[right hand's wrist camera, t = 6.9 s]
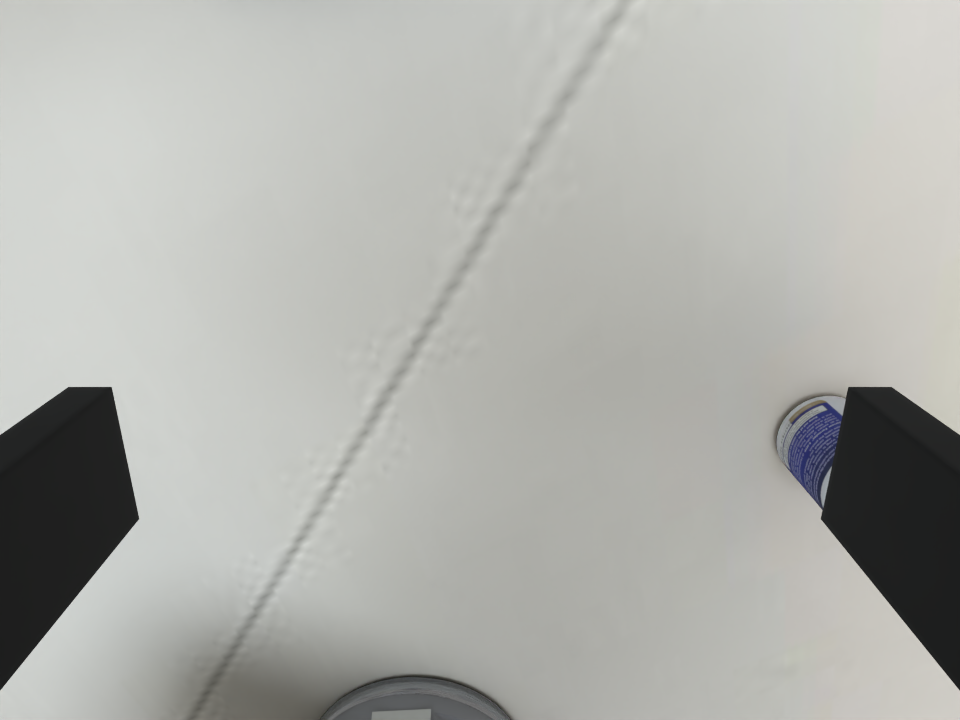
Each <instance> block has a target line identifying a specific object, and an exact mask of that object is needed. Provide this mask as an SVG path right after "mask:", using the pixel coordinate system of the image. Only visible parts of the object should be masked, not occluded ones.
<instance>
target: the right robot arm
mask: <svg viewBox="0 0 960 720" xmlns="http://www.w3.org/2000/svg"><path fill="white" fill-rule="evenodd" d="M138 520H139V516H138V511H137V506H136V502H135V497H134V492H133V487H132V483H131V478H130V473H129V468H128V463H127V459H126V454H125V449H124V444H123V440H122V435H121V430H120V425H119V420H118V416H117V411H116V406H115V401H114V396H113V392H112V387H68V388H67V389H65V390H64V391H62V392H61V393H60V394H58V395H57V396H55V397H54V398H52V399H51V400H50V401H48V402H47V403H45V404H44V405H42V406H41V407H40V408H38V409H37V410H35V411H34V412H32V413H31V414H30V415H28V416H27V417H25V418H24V419H23V420H21V421H20V422H18V423H17V424H15V425H14V426H13V427H11V428H10V429H8V430H7V431H5V432H4V433H3V434H1V435H0V690H1V689H2V688H3V686H4V685H5V684H6V683H7V681H8V680H9V679H10V678H11V676H12V675H13V674H14V673H15V671H16V670H17V669H18V668H19V667H20V665H21V664H22V663H23V662H24V660H25V659H26V658H27V657H28V655H29V654H30V653H31V652H32V650H33V649H34V648H35V647H36V646H37V644H38V643H39V642H40V641H41V639H42V638H43V637H44V636H45V634H46V633H47V632H48V631H49V629H50V628H51V627H52V626H53V625H54V623H55V622H56V621H57V620H58V618H59V617H60V616H61V615H62V613H63V612H64V611H65V610H66V608H67V607H68V606H69V605H70V604H71V602H72V601H73V600H74V599H75V597H76V596H77V595H78V594H79V592H80V591H81V590H82V589H83V588H84V586H85V585H86V584H87V583H88V581H89V580H90V579H91V578H92V576H93V575H94V574H95V573H96V571H97V570H98V569H99V568H100V567H101V565H102V564H103V563H104V562H105V560H106V559H107V558H108V557H109V555H110V554H111V553H112V552H113V550H114V549H115V548H116V547H117V546H118V544H119V543H120V542H121V541H122V539H123V538H124V537H125V536H126V534H127V533H128V532H129V531H130V529H131V528H132V527H133V526H134V525H135V523H136V522H137V521H138ZM821 520H822V521H823V522H824V523H825V525H826V526H827V527H828V528H829V529H830V531H831V532H832V533H833V534H834V536H835V537H836V538H837V539H838V541H839V542H840V543H841V544H842V546H843V547H844V548H845V549H846V550H847V552H848V553H849V554H850V555H851V557H852V558H853V559H854V560H855V562H856V563H857V564H858V565H859V567H860V568H861V569H862V570H863V571H864V573H865V574H866V575H867V576H868V578H869V579H870V580H871V581H872V583H873V584H874V585H875V586H876V588H877V589H878V590H879V591H880V592H881V594H882V595H883V596H884V597H885V599H886V600H887V601H888V602H889V604H890V605H891V606H892V607H893V608H894V610H895V611H896V612H897V613H898V615H899V616H900V617H901V618H902V620H903V621H904V622H905V623H906V625H907V626H908V627H909V628H910V629H911V631H912V632H913V633H914V634H915V636H916V637H917V638H918V639H919V641H920V642H921V643H922V644H923V646H924V647H925V648H926V649H927V650H928V652H929V653H930V654H931V655H932V657H933V658H934V659H935V660H936V662H937V663H938V664H939V665H940V667H941V668H942V669H943V670H944V671H945V673H946V674H947V675H948V676H949V678H950V679H951V680H952V681H953V683H954V684H955V685H956V686H957V688H958V689H959V690H960V435H959V434H957V433H956V432H955V431H953V430H952V429H950V428H949V427H947V426H946V425H945V424H943V423H942V422H940V421H939V420H937V419H936V418H935V417H933V416H932V415H930V414H929V413H928V412H926V411H925V410H923V409H922V408H920V407H919V406H918V405H916V404H915V403H913V402H912V401H910V400H909V399H908V398H906V397H905V396H903V395H902V394H900V393H899V392H898V391H896V390H895V389H893V388H892V387H848V392H847V396H846V401H845V406H844V411H843V416H842V420H841V425H840V430H839V435H838V439H837V444H836V449H835V454H834V459H833V463H832V468H831V473H830V478H829V483H828V487H827V492H826V497H825V502H824V506H823V511H822V516H821ZM321 720H510V718H509V717H508V716H507V715H506V714H505V712H504V711H503V710H502V709H500V708H499V707H498V706H497V705H496V704H495V703H493V702H492V701H491V700H489V699H488V698H486V697H485V696H483V695H481V694H480V693H478V692H476V691H474V690H472V689H470V688H467V687H465V686H462V685H459V684H456V683H453V682H449V681H444V680H440V679H433V678H423V677H404V678H394V679H388V680H383V681H379V682H375V683H372V684H369V685H366V686H363V687H361V688H359V689H356V690H354V691H353V692H351V693H349V694H347V695H346V696H344V697H343V698H341V699H340V700H338V701H337V702H336V703H335V704H334V705H332V706H331V707H330V708H329V710H328V711H327V712H326V713H325V714H324V715H323V717H322V718H321Z"/></svg>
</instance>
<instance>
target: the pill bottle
mask: <svg viewBox="0 0 960 720" xmlns="http://www.w3.org/2000/svg"><path fill="white" fill-rule="evenodd" d="M845 401H846V399H845V398H842V397H837V396H821V397H816V398H813V399H810V400H808V401H806V402H804V403H802V404H800V405H799V406H797V407H796V408H795V409H793V410H792V411H791V412H790V413H789V414H788V415H787V417H786V418H785V419H784V421H783V422H782V424H781V426H780V429H779V431H778V435H777V451H778V454H779V456H780V459H781V460H782V462H783V463H784V465H785V466H786V467H787V468H788V470H789V471H790V472H791V473H792V474H793V476H794V477H795V478H796V479H797V480H798V481H799V483H800V484H801V485H802V486H803V487H804V488H805V490H806V491H807V492H808V493H809V494H810V495H811V497H812V498H813V499H814V500H815V501H816V503H817V504H818V505H819V506H820V507H821V509H822V510H823V506H824V502H825V497H826V492H827V487H828V483H829V478H830V473H831V468H832V463H833V459H834V454H835V449H836V444H837V439H838V435H839V430H840V425H841V420H842V416H843V411H844V406H845Z"/></svg>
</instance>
